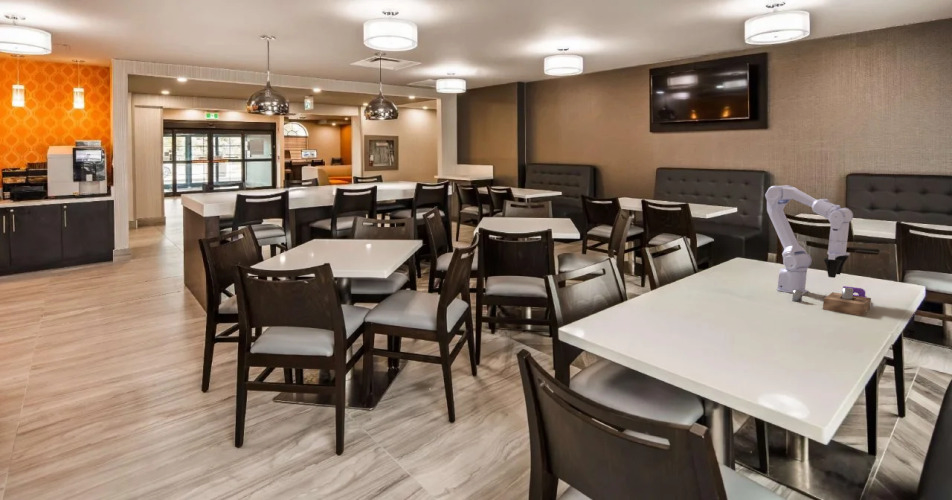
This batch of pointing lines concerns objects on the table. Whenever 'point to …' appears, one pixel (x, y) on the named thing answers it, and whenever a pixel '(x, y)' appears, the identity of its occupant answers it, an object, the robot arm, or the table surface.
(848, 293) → the tall pin
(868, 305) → the hole block
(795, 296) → the short pin
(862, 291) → the bracket
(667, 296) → the table surface
